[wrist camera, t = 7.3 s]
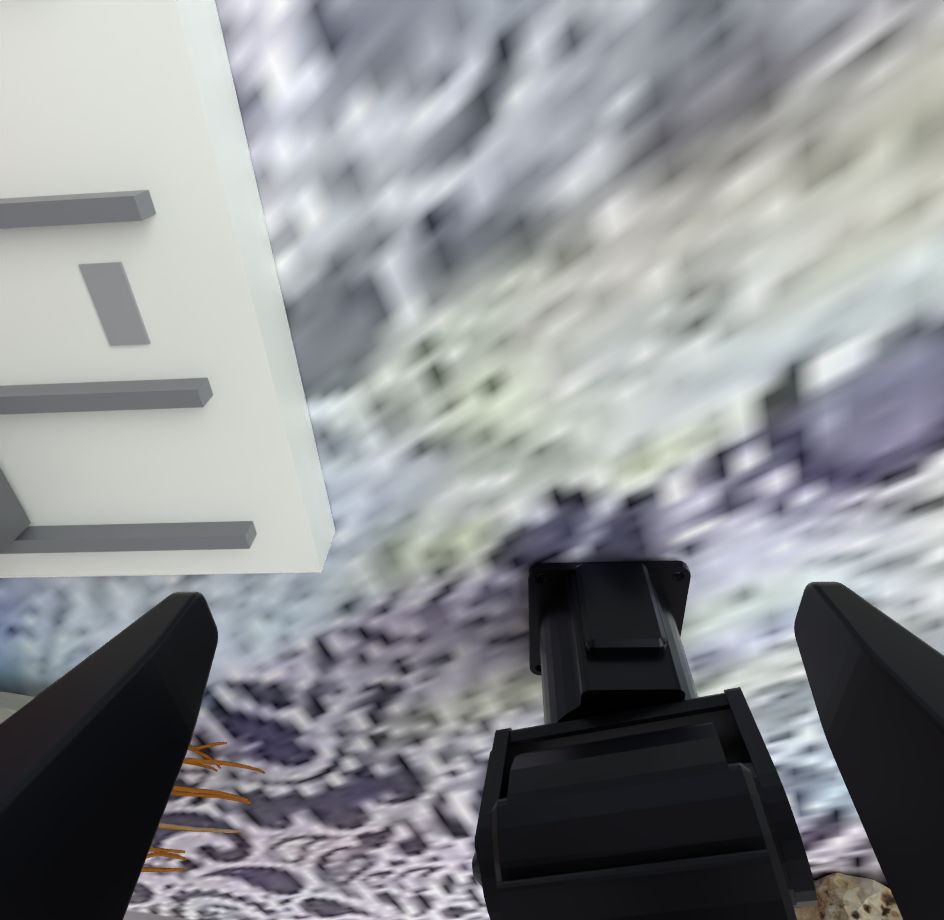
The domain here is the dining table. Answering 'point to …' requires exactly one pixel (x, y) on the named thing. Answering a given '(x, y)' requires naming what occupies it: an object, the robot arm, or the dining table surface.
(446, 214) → the dining table surface
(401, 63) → the dining table surface
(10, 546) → the white flat slab
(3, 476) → the grey cube
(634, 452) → the dining table surface
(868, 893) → the rock
